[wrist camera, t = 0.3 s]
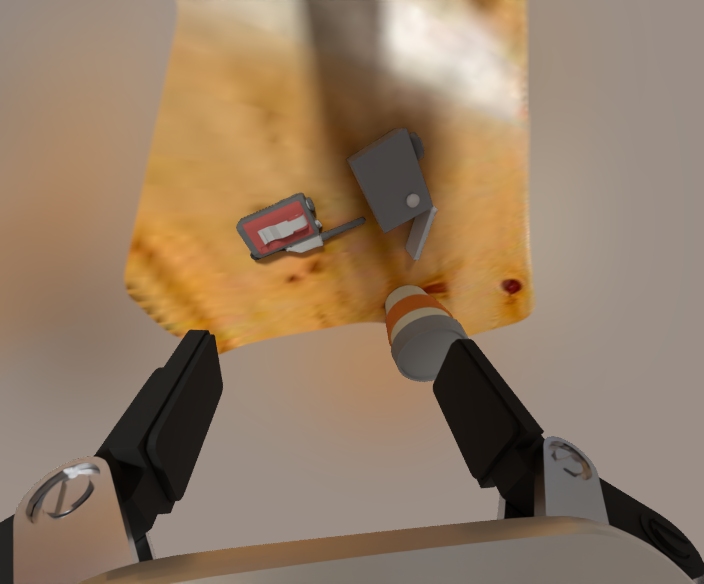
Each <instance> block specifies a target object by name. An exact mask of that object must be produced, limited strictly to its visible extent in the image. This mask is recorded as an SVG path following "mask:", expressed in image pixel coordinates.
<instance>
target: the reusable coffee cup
mask: <svg viewBox="0 0 704 584" xmlns="http://www.w3.org/2000/svg"><path fill="white" fill-rule="evenodd" d="M385 309H386V315H387V317H386V327H387V333H388V339H389V344H390V346H391V353H392V357H393V359H394V361H395V363H396V365H397V367H398V369H399V371H400V372H401V373H402V374H403V376H405V377H406V378H408V379H411V380H414V381H422V382H425V381H433V380H435V379H436V377H437V375H438V372H439V370H440V368H441V366H442V363H443V361H444V359H445V357H446V354H447V352H448V350H449V348H450V345H451V344H452V343H453V342H455V340H456V339H469V338H468V337H467V335H466V333H465V331H464V329H463V328H462V326H461V324H460V323H459V322H458V321H457V320H455V319H454V318H453V317H452V315H451V314H450V313H449V312H448V311H447V310H446V309H445V308H444V307H443V306H442V305H441V304H440V303H439V302H438V301H437V300H436V299H435V298H433V297H431V296H429V295H428V294H427V293H426V292H425V291H423V290H422V289H421V288H420V287H418V286H415V285H405V286H402V287H399V288H397V289H395V290H394V291H393V292H392V293H391V294H390V295H389V296H388V298H387V300H386V303H385Z"/></svg>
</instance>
